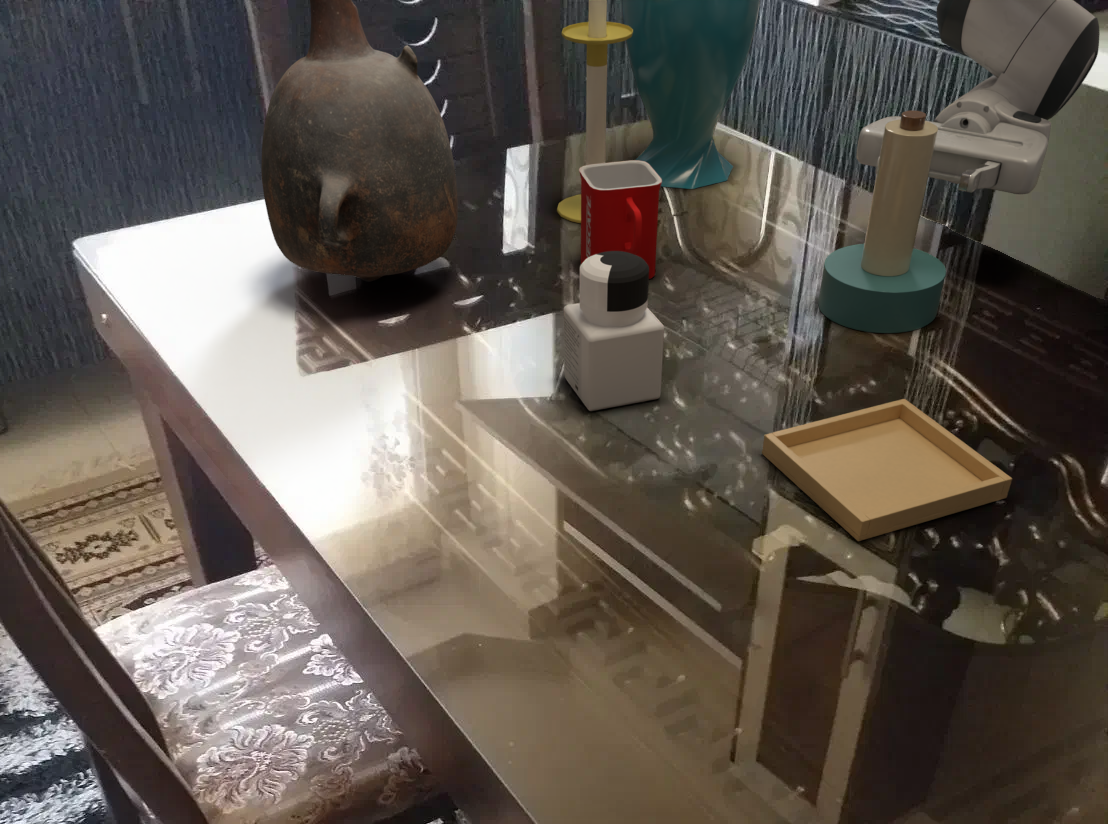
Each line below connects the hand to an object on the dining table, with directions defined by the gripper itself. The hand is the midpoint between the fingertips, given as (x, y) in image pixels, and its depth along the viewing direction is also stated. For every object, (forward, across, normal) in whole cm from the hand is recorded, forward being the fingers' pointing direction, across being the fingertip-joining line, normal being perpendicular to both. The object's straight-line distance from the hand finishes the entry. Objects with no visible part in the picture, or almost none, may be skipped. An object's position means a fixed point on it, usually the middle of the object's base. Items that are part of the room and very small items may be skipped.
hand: (923, 175), depth 123 cm
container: (+38, -15, +12) cm, 43 cm away
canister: (+6, 0, +8) cm, 10 cm away
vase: (-19, -41, +12) cm, 47 cm away
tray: (+39, +14, +12) cm, 43 cm away
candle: (-1, -43, +12) cm, 44 cm away
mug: (+15, -29, +12) cm, 34 cm away
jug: (+32, -53, +12) cm, 63 cm away
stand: (+6, 0, +12) cm, 14 cm away
